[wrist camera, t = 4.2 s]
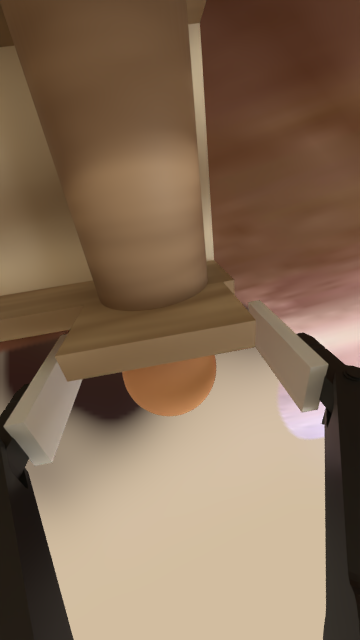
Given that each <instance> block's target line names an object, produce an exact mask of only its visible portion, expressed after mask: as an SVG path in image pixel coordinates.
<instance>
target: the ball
mask: <svg viewBox="0 0 360 640" xmlns="http://www.w3.org/2000/svg"><path fill="white" fill-rule="evenodd" d="M215 376H216V360H215V355H210V356H205V357H199V358H194V359H188V360H183V361H178V362H172V363H167V364H161V365H156V366H151V367H145V368H140V369H134V370H129V371H123V379H124V383H125V386H126V388H127V391H128V392H129V394H130V395H131V397H132V398H133V400H134V401H135V402H136V403H137V404H138V405H139V406H141V407H142V408H143V409H145V410H147V411H149V412H151V413H153V414H157V415H162V416H177V415H181V414H184V413H187V412H189V411H191V410H193V409H194V408H196V407H197V406H198V405H200V404H201V403H202V402H203V401H204V400H205V398H206V397H207V396H208V394H209V392H210V390H211V388H212V387H213V384H214V381H215Z"/></svg>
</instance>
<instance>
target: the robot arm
mask: <svg viewBox="0 0 360 640" xmlns="http://www.w3.org/2000/svg"><path fill="white" fill-rule="evenodd" d="M248 311H249V313H250V314H251V315H252V316H253V317H254V318H255V319H256V341H255V347H256V349H257V350H258V351H259V353H260V354H261V356H262V357H263V358H264V360H265V361H266V363H267V364H268V365H269V367H270V368H271V370H272V371H273V373H274V374H275V375H276V377H277V378H278V380H279V381H280V382H281V384H282V385H283V387H284V388H285V389H286V391H287V392H288V394H289V395H290V396H291V398H292V399H293V401H294V402H295V403H296V405H297V406H298V408H299V409H300V410H301V412H307V411H312V410H317V409H318V406H319V402H320V401H321V402H322V403H323V405H324V406H325V407H326V409H325V413H324V417H323V420H322V424H325V519H326V520H325V522H326V524H325V525H326V526H325V527H326V617H325V624H324V633H323V640H360V368H358V367H355V366H348V365H345V364H344V363H343V362H341V361H340V360H339V359H338V358H337V357H336V356H334V355H333V354H332V353H331V352H330V351H328V350H327V349H325V347H324V346H323V345H321V344H320V343H319V342H318V341H317V340H316V339H314V338H313V337H312V336H309V335H307V334H305V333H298V334H295V333H294V332H293V331H292V330H291V329H290V328H289V327H288V326H287V325H286V324H285V323H284V322H283V321H282V320H280V319H279V318H278V317H277V316H276V315H275V314H274V313H273V312H272V311H271V310H270V309H269V308H268V307H266V306H265V305H264V304H263V303H262V302H261V301H260V300H257V301H252V302H248ZM66 336H67V334H64V335H61V336H60V337H59V339H58V340H57V342H56V343H55V345H54V347H53V348H52V350H51V351H50V353H49V355H48V356H47V358H46V359H45V361H44V363H43V364H42V366H41V367H40V369H39V371H38V372H37V374H36V375H35V377H34V378H33V380H32V382H31V383H30V384H26V385H24V386H23V387H22V388H21V389H19V390H18V391H17V392H16V393H15V395H14V396H13V398H12V399H11V401H10V403H9V404H8V405H7V407H6V410H4V411H3V413H2V414H1V416H0V640H73V636H72V633H71V629H70V625H69V622H68V617H67V614H66V610H65V606H64V603H63V599H62V595H61V592H60V588H59V584H58V581H57V577H56V573H55V569H54V566H53V562H52V558H51V555H50V551H49V547H48V543H47V540H46V536H45V532H44V529H43V525H42V521H41V518H40V514H39V510H38V506H37V503H36V499H35V496H34V492H33V488H32V485H31V481H30V477H29V474H28V471H27V470H26V469H25V466H26V464H27V461H28V459H30V461H31V462H32V463H33V464H34V465H35V466H37V465H42V464H47V463H52V462H53V459H54V456H55V453H56V451H57V448H58V445H59V442H60V439H61V437H62V434H63V431H64V428H65V426H66V423H67V420H68V417H69V414H70V412H71V409H72V406H73V403H74V401H75V398H76V395H77V392H78V389H79V387H80V384H81V381H82V379H80V380H75V381H69V382H67V380H66V378H65V376H64V374H63V372H62V370H61V368H60V366H59V364H58V362H57V360H56V358H55V355H56V353H57V352H58V350H59V348H60V346H61V345H62V343H63V341H64V340H65V338H66Z"/></svg>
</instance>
